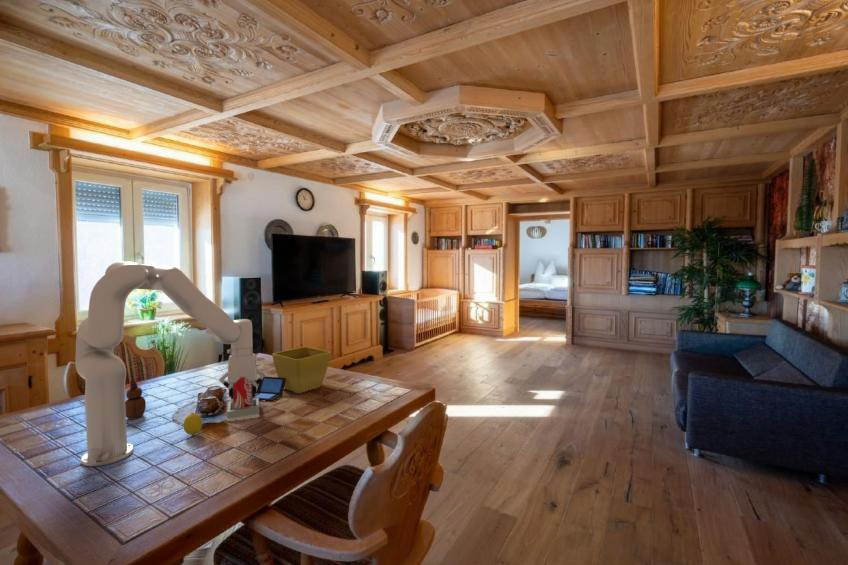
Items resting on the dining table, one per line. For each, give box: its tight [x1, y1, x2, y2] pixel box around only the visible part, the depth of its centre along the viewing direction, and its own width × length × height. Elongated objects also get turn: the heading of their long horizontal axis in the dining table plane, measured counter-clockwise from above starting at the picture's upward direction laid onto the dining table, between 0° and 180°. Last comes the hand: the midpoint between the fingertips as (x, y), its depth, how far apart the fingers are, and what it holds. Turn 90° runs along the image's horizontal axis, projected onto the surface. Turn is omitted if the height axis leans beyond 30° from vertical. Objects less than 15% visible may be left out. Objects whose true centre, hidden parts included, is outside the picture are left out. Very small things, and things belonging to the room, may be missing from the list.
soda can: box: [232, 376, 253, 410], centre depth 155 cm, size 7×7×13 cm
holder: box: [226, 398, 260, 422], centre depth 156 cm, size 13×11×4 cm
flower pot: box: [272, 346, 331, 394], centre depth 186 cm, size 19×19×17 cm
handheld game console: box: [253, 375, 286, 402], centre depth 174 cm, size 12×11×7 cm
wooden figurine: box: [125, 379, 147, 420], centre depth 151 cm, size 7×6×15 cm
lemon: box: [183, 412, 203, 437], centre depth 136 cm, size 6×6×8 cm
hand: (243, 396), depth 156 cm, fingers closed on soda can, 7 cm apart
